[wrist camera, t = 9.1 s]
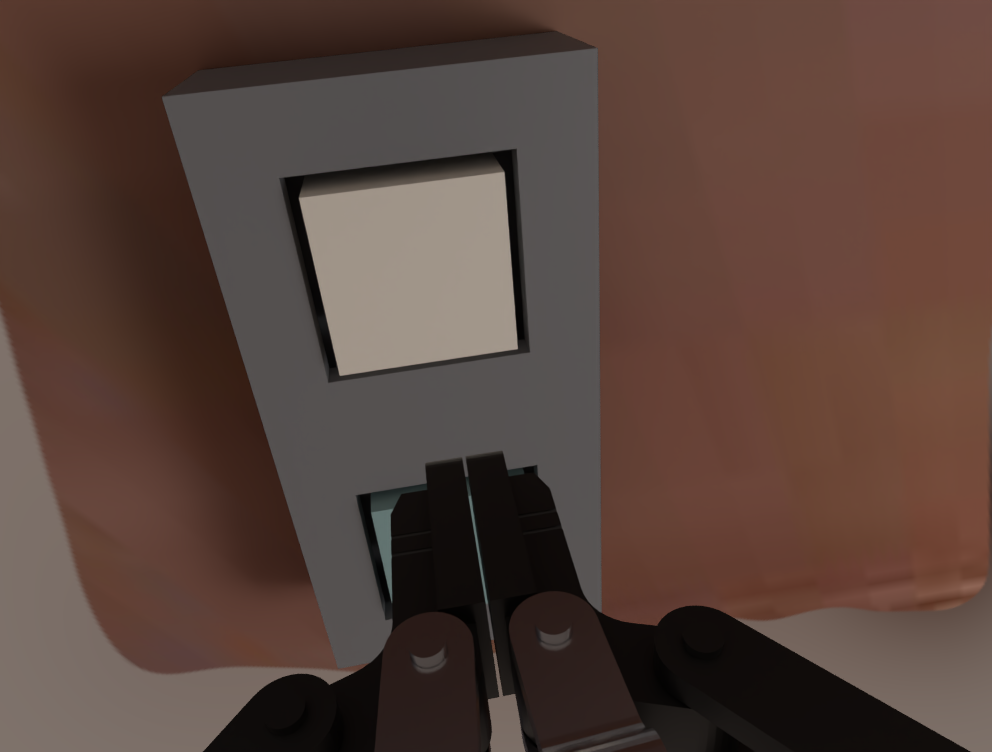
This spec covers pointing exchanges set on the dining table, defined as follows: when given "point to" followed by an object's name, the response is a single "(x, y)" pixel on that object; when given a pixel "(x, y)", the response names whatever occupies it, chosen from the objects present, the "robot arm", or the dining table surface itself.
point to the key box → (421, 387)
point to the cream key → (412, 260)
